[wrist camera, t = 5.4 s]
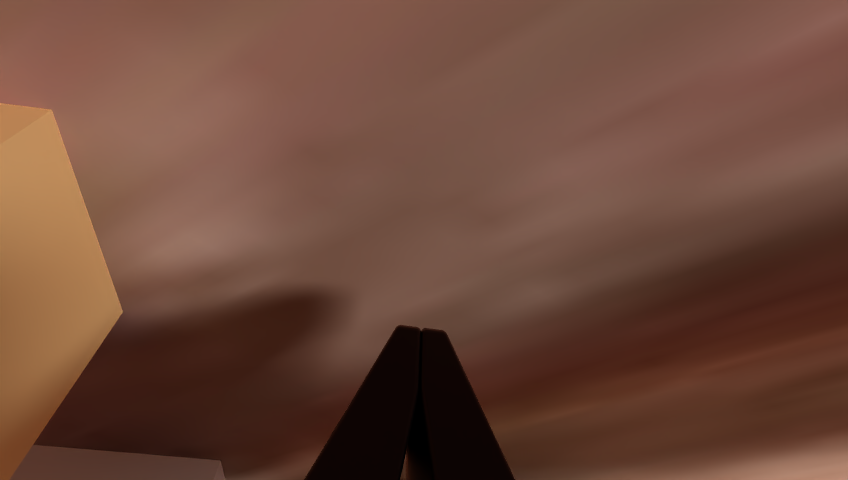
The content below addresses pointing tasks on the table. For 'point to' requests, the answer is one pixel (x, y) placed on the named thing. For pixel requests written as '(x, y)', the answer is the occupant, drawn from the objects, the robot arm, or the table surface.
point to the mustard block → (44, 280)
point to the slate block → (111, 466)
